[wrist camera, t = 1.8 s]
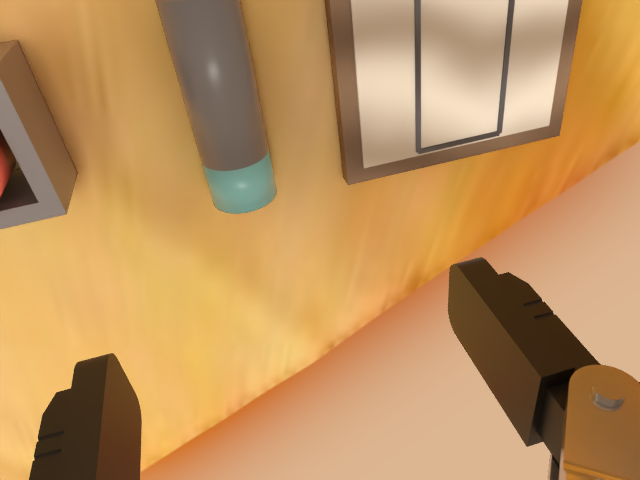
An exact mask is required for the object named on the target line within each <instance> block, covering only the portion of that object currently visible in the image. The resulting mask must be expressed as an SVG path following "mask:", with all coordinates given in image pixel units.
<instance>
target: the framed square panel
mask: <svg viewBox="0 0 640 480" xmlns="http://www.w3.org/2000/svg"><path fill="white" fill-rule="evenodd" d="M325 5H326V15H327V24H328V34H329V44H330V53H331V63H332V72H333V82H334V91H335V101H336V111H337V120H338V130H339V139H340V149H341V159H342V168H343V177H344V179H345V181H346V182H347V184H348V185H351V184H355V183H359V182H364V181H368V180H372V179H376V178H381V177H385V176H389V175H393V174H398V173H402V172H406V171H410V170H415V169H419V168H423V167H428V166H432V165H436V164H440V163H445V162H449V161H453V160H457V159H462V158H466V157H470V156H474V155H479V154H483V153H487V152H492V151H496V150H500V149H504V148H509V147H513V146H517V145H521V144H526V143H530V142H534V141H538V140H543V139H547V138H551V137H556V136H559V135H560V129H561V123H562V117H563V111H564V105H565V99H566V94H567V88H568V82H569V76H570V70H571V64H572V58H573V52H574V46H575V41H576V35H577V29H578V23H579V17H580V11H581V5H582V0H325Z"/></svg>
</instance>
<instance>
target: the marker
mask: <svg viewBox="0 0 640 480" xmlns="http://www.w3.org/2000/svg"><path fill="white" fill-rule="evenodd" d="M156 4H157V7H158V11H159V14H160V18H161V21H162V25H163V29H164V32H165V36H166V39H167V43H168V46H169V50H170V53H171V57H172V60H173V64H174V67H175V71H176V74H177V78H178V81H179V85H180V88H181V92H182V95H183V99H184V102H185V106H186V109H187V113H188V116H189V120H190V123H191V127H192V130H193V134H194V137H195V141H196V144H197V148H198V151H199V155H200V158H201V162H202V165H203V169H204V172H205V176H206V179H207V183H208V186H209V190H210V193H211V197H212V200H213V204H214V206H215V207H216V208H217V209H218V210H220V211H222V212H226V213H233V214H239V213H247V212H251V211H255V210H257V209H260V208H262V207H264V206H266V205H267V204H269V203H270V202H271V201H272V200H273V199H274V198H275V196H276V194H277V188H276V183H275V177H274V172H273V167H272V162H271V157H270V152H269V147H268V142H267V136H266V131H265V126H264V121H263V116H262V111H261V106H260V100H259V95H258V90H257V85H256V80H255V75H254V70H253V65H252V59H251V54H250V49H249V44H248V39H247V34H246V29H245V24H244V18H243V13H242V8H241V3H240V0H156Z"/></svg>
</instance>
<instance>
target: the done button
mask: <svg viewBox="0 0 640 480" xmlns="http://www.w3.org/2000/svg"><path fill="white" fill-rule="evenodd" d="M15 164H16V158H15V156H14V154H13V152H12V150H11V148H10V146H9V145H8V143H7V141H6V139H5V137H4V135H3V133H2V131H1V129H0V197H1V195H2V193H3V191H4V189H5V186H6V184H7V182H8V180H9V178H10V176H11V174H12V172H13V169H14V167H15Z"/></svg>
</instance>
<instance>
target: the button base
mask: <svg viewBox="0 0 640 480" xmlns="http://www.w3.org/2000/svg"><path fill="white" fill-rule="evenodd" d="M0 129H1V131H2V133H3V135H4V137H5V139H6V141H7V143H8V145H9V146H10V148H11V150H12V152H13V154H14V156H15V158H16V160H17V162H18V164H19V166H20V168H21V169H18V170H13V172H12V174H11V176H10V178H9V180H8V182H7V184H6V186H5V189H4V191H3V193H2V195H1V197H0V229H3V228H8V227H12V226H17V225H21V224H26V223H30V222H34V221H39V220H43V219H48V218H52V217H57V216H61V215H65V214H67V211H68V207H69V204H70V200H71V196H72V192H73V188H74V184H75V180H76V177H77V171H76V169H75V167H74V164H73V162H72V160H71V158H70V156H69V153H68V151H67V149H66V147H65V144H64V142H63V140H62V138H61V136H60V133H59V131H58V129H57V127H56V125H55V122H54V120H53V118H52V116H51V113H50V111H49V109H48V107H47V105H46V102H45V100H44V98H43V96H42V93H41V91H40V89H39V87H38V85H37V82H36V80H35V78H34V76H33V74H32V71H31V69H30V67H29V65H28V62H27V60H26V58H25V56H24V54H23V51H22V49H21V47H20V45H19V42H18V40H14V41H9V42H3V43H0Z"/></svg>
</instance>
